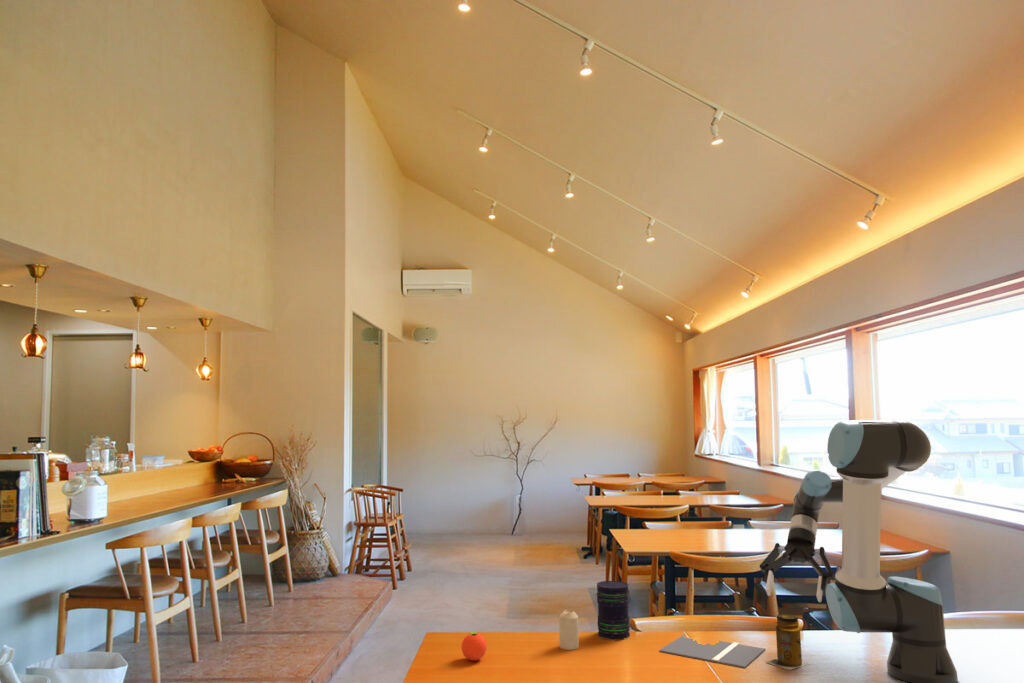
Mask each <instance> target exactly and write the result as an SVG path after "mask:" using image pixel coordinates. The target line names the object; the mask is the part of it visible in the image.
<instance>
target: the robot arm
mask: <svg viewBox="0 0 1024 683" xmlns="http://www.w3.org/2000/svg"><path fill="white" fill-rule="evenodd" d="M826 450H827V454H828V460H829V463H830V464H831V465H832V467H834V468H836V473H837V475H839V476H830V475H829V474H828V473H827V472H825V471H821V470H819V469H813V470H809V471H808V472H806V474H805V476H804V477H803V479H802V481H801V484H800V487H799V489H798V490H797V491H796V493H795V495H794V499H793V507H792V514H791V519H790V523H789V531H788V536H787V543H786V545H780V543H779V542H776V543H775V545H774V547H773V549H772V550H771V551H770V553H768V554H767V556H766V557H765V559H764V560H762V562H761V563H760V564H759V568H760V571H761V573H764V578H763V580H764V583H765V584H766V585H765V592H766V595H767V596H768V597H771V595H772V589H773V585H774V577H775V575H774V573H775V572H777V571H778V570H780V569H781V568H783V566H785V565H786V564H790V563H791V562H794V563H803V564H805V562H808V564H809V566H811V567H812V568H813V570H814V571H815V572H816V573H817V574H818V580H817V586H816V588H817V589H816V599H817V601H818V602H817V603H822V601H823V600H822V599H823V591H825V598H826V603H827V606H828V607H827V608H828V610H829V614H830V615H831V618H832V621H833V622H834V624H835V625H836V626H837V628H838V629H839V630H841V631H843V632H848V633H849V632H850V633H851V632H852V633H856V634H861V633H884V634H885V633H886V634H887V633H888V634H889V633H891V634H892V642H891V646H890V648H889V653H888V657H887V661H886V668H887V673H888V675H890V676H892V677H893V678H895V679H898V680H899V679H900V681H902V680H903V682H905V681H906V682H905V683H909V682H911V683H956V682H957V681H958V682H959V680H958V677H959V676H958V671H957V668H956V666H955V664H954V661H953V660H952V656H951V655H950V652H949V651H948V647H947V641H946V629H945V627H946V626H945V620H944V619H945V617H944V603H943V599H942V593H941V590H940V588H938V586H936V585H935V584H932V583H930V582H927V581H923V580H918V579H914V578H908V577H903V576H888V577H887V580H886V579H885V577H883V576H882V575H881V574H880V572H881V564H880V563H881V517H882V514H881V512H882V494H883V493H882V490H883V489H884V488H886V486H888V485H890V484H891V483H893V482H894V481H895V480H896V479H898V478H899V477H901V476H902V475H904V474H905V473H907V472H908V473H909V472H914V471H916V470H918V469H920V468H921V467H922V466H923V465H925V463H927V461H928V460H929V458H930V456H931V452H932V446H931V441H930V439H929V437H928V436H927V434H926V432H925V431H923V429H922V428H920V426H918V425H916V424H914V423H912V422H909V421H906V420H901V419H887V420H886V419H885V420H884V419H882V420H881V419H860V420H859V419H853V420H842V421H839V422H837V423H836V424H834V426H833V427H832V428H831V431H830V432H829V435H828V438H827V449H826ZM824 503H842V522H841V523H842V526H841V527H842V528H841V529H842V531H841V535H842V536H841V569H839V570H838V571H836V572H834V571H833V568H832V567H831V565H830V563H829V560H828V558H827V555H826V551H825V548H824V547H823V546H820V547H819V548H815V546H816V539H817V538H816V537H817V533H818V532H817V531H818V522H819V516H820V513H821V510H822V508H823V506H824ZM780 554H781V556H780ZM815 555H817V556H818V557H819V558H820V559H821V561H822V564H823V565H824V567H825V570H826V571H827V573H826V571H825V570H823V568H822V567H821V566H820V564H819V563H818V562H817V560H815V559H814V556H815ZM829 581H834V582H830V583H828V582H829Z"/></svg>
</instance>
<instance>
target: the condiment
mask: <svg viewBox="0 0 1024 683" xmlns="http://www.w3.org/2000/svg"><path fill="white" fill-rule="evenodd" d="M775 634H776V635H775V637H776V655H777V658H773V659H771V660H766V661H765V663H768V664H770V665H773V666H775V667H777V668H782V669H785V670H788V671H791V670H794V669H797V668H802V667H805V666H808V665H809V664H810V663H808V662H804V661H803V657H802V654H803V653H802V643H801V628H800V627H799V619H798V616H796V615H794V614H788V613H787V614H786V613H781V614H778V615H777V616H776V626H775Z"/></svg>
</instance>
